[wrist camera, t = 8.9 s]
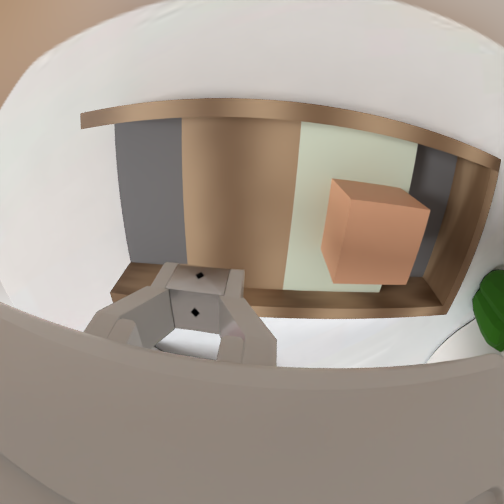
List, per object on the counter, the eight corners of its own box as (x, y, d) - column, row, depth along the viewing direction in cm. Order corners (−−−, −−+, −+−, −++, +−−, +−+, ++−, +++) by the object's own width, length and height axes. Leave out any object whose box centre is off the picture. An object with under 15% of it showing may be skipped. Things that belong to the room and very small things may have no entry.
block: (400, 187, 16) (430, 210, 12) (384, 252, 18) (405, 284, 15) (331, 178, 16) (351, 199, 12) (320, 249, 18) (333, 283, 15)
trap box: (463, 145, 16) (501, 159, 12) (423, 282, 23) (446, 314, 19) (118, 109, 16) (80, 113, 12) (135, 267, 23) (113, 302, 19)
